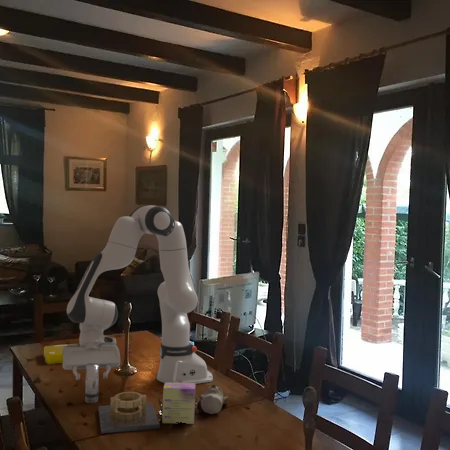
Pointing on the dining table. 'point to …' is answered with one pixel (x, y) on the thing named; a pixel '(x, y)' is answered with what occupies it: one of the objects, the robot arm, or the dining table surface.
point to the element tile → (54, 354)
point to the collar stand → (128, 414)
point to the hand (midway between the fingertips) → (91, 378)
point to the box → (178, 403)
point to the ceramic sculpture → (213, 400)
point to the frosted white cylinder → (92, 383)
